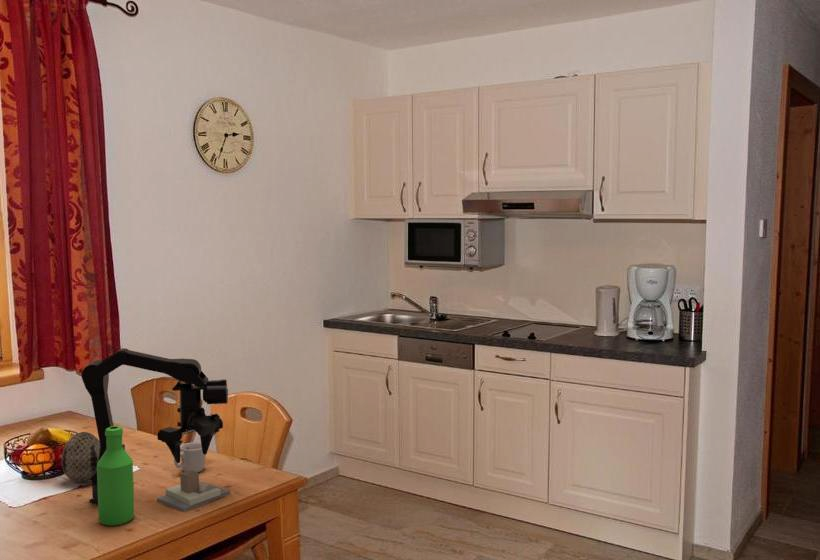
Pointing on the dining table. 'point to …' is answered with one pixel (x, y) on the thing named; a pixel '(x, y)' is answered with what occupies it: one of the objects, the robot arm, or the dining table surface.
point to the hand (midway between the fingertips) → (191, 458)
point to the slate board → (185, 507)
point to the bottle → (115, 481)
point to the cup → (191, 457)
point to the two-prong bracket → (191, 489)
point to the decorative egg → (81, 457)
